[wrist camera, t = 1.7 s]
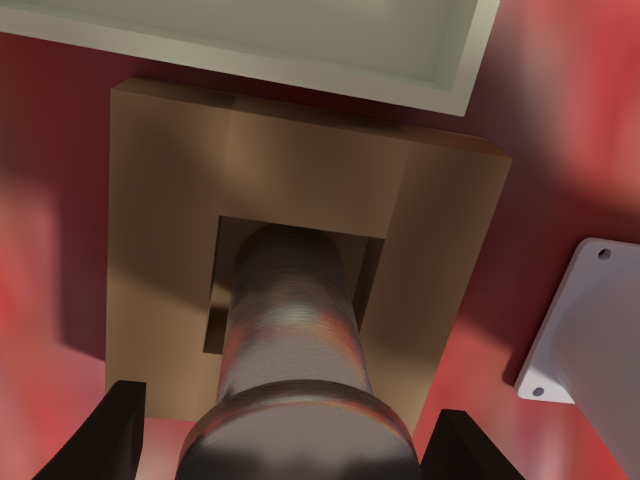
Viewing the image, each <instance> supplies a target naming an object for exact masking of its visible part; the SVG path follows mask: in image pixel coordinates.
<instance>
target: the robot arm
mask: <svg viewBox="0 0 640 480" xmlns="http://www.w3.org/2000/svg"><path fill="white" fill-rule="evenodd" d="M603 249H605V252H604V253H603V254H602V255H600V256H598V254H599V253H600V251H602V250H603ZM146 384H147V382H137V381H126V380H118V381H117V382H115V383H114V384H113V385H112V387H111V388H110V390H109V391H108V393H107V394H106V395H105V397H104V398H103V399H102V401H101V402H100V403H99V405H98V406H97V407H96V408H95V410H94V411H93V412H92V413H91V415H90V416H89V417H88V418H87V419H86V421H85V422H84V423H83V424H82V426H81V427H80V428H79V429H78V430H77V431H76V432H75V434H74V435H73V436H72V437H71V438H70V439H69V440H68V441H67V443H66V444H65V445H64V446H63V447H62V448H61V449H60V451H59V452H58V453H57V454H56V455H55V456H54V457H53V458H52V459H51V460H50V461H49V462H48V463H47V464H46V465H45V466H44V467H43V468H42V469H41V470H40V471H39V472H38V473H37V474H36V476H35V477H34V478H33V479H32V480H135V477H136V473H137V468H138V464H139V460H140V455H141V451H142V447H143V432H144V416H145V400H146ZM536 388H538V389H536ZM535 389H536V390H535ZM514 390H515V392H516V394H517V395H518V396H519V397H520V398H523V399H532V400H542V401H552V402H563V403H573V404H576V405H577V407H578V408H579V409H580V411H581V412H582V414H583V415H584V417H585V418H586V419H587V421H588V422H589V424H590V425H591V426H592V428H593V429H594V431H595V432H596V433H597V435H598V436H599V438H600V439H601V440H602V442H603V443H604V445H605V446H606V448H607V449H608V450H609V452H610V453H611V455H612V456H613V457H614V459H615V460H616V462H617V463H618V464H619V466H620V467H621V469H622V470H623V471H624V473H625V474H626V476H627V477H628V478H629V480H640V245H639V244H632V243H626V242H619V241H613V240H606V239H600V238H587V239H584V240H583V241H582V242H580V243H579V245H578V246H577V248H576V250H575V252H574V255H573V257H572V259H571V261H570V263H569V266H568V268H567V270H566V272H565V274H564V277H563V279H562V281H561V283H560V285H559V288H558V290H557V292H556V294H555V296H554V299H553V301H552V303H551V305H550V307H549V310H548V312H547V314H546V316H545V318H544V321H543V323H542V325H541V327H540V329H539V332H538V334H537V336H536V338H535V340H534V343H533V345H532V347H531V349H530V352H529V354H528V356H527V358H526V360H525V363H524V365H523V367H522V369H521V371H520V374H519V376H518V378H517V380H516V382H515V385H514ZM420 468H421V472H422V475H423V479H424V480H525V479H524V477H523V476H522V475H521V474H520V473H519V472H518V471H517V470H516V469H515V467H514V466H513V465H512V464H511V463H510V462H509V461H508V460H507V458H506V457H505V456H504V455H503V454H502V453H501V452H500V450H499V449H498V448H497V447H496V446H495V445H494V443H493V442H492V441H491V440H490V439H489V438H488V437H487V435H486V434H485V433H484V432H483V431H482V430H481V428H480V427H479V426H478V425H477V424H476V423H475V422H474V421H473V419H472V418H471V417H470V416H469V415H468V414H467V413H466V412H465V411H461V410H450V409H442V410H441V412H440V415H439V418H438V420H437V423H436V425H435V428H434V431H433V433H432V436H431V438H430V441H429V443H428V446H427V449H426V451H425V454H424V456H423V459H422V462H421V464H420Z"/></svg>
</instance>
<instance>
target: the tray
mask: <svg viewBox="0 0 640 480" xmlns="http://www.w3.org/2000/svg"><path fill="white" fill-rule="evenodd" d="M499 3H500V0H0V31H1V32H6V33H12V34H17V35H23V36H28V37H33V38H39V39H44V40H50V41H55V42H60V43H66V44H71V45H77V46H82V47H88V48H93V49H98V50H104V51H109V52H115V53H120V54H126V55H131V56H136V57H142V58H147V59H153V60H158V61H164V62H169V63H174V64H180V65H185V66H191V67H196V68H201V69H207V70H212V71H218V72H223V73H229V74H234V75H239V76H245V77H250V78H256V79H261V80H267V81H272V82H277V83H283V84H288V85H294V86H299V87H304V88H310V89H315V90H321V91H326V92H332V93H337V94H342V95H348V96H353V97H359V98H364V99H370V100H375V101H380V102H386V103H391V104H397V105H402V106H408V107H413V108H418V109H424V110H429V111H435V112H440V113H445V114H451V115H456V116H462V117H464V115H465V112H466V109H467V106H468V103H469V99H470V96H471V93H472V90H473V87H474V83H475V80H476V77H477V74H478V71H479V67H480V64H481V61H482V58H483V54H484V51H485V48H486V45H487V42H488V38H489V35H490V32H491V29H492V26H493V22H494V19H495V16H496V13H497V10H498V6H499Z"/></svg>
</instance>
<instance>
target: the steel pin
mask: <svg viewBox="0 0 640 480" xmlns="http://www.w3.org/2000/svg"><path fill="white" fill-rule="evenodd" d="M175 480H424V479H423V475H422V472H421V468H420V465H419V462H418V458H417V455H416V452H415V448H414V445H413V442H412V438H411V435H410V433H409V431H408V429H407V427H406V425H405V424H404V422H403V421H402V420H401V418H400V417H399V415H398V414H397V413H396V412H395V411H394V410H393V409H392V408H391V407H389V406H388V405H387V404H385V403H384V402H383V401H381V400H380V399H378V398H377V397H375V396H374V395H373V391H372V387H371V383H370V378H369V374H368V370H367V366H366V362H365V357H364V353H363V349H362V345H361V340H360V336H359V332H358V328H357V324H356V319H355V315H354V311H353V307H352V302H351V298H350V294H349V290H348V286H347V281H346V277H345V273H344V269H343V264H342V260H341V256H340V253H339V251H338V248H337V246H336V245H335V243H334V242H333V240H332V239H331V238H330V237H329V236H328V235H327V234H326V233H325V232H323V231H322V230H319V229H312V228H305V227H298V226H291V225H284V224H277V223H271V224H268V225H266V226H263V227H262V228H260V229H258V230H256V231H255V232H254V233H252V234H251V235H250V236H249V237H248V238H247V239H246V240H245V242H244V243H243V244H242V246H241V248H240V249H239V252H238V254H237V257H236V262H235V269H234V276H233V283H232V290H231V297H230V304H229V311H228V318H227V325H226V332H225V339H224V346H223V353H222V360H221V367H220V374H219V381H218V388H217V395H216V402H215V407H213V408H212V409H210V410H209V411H208V412H207V413H206V414H205V415H204V416H203V417H201V418H200V420H199V421H198V422H197V423H196V424H195V425H194V427H193V428H192V429H191V431H190V432H189V434H188V436H187V437H186V439H185V441H184V443H183V446H182V448H181V451H180V456H179V461H178V466H177V471H176V476H175Z"/></svg>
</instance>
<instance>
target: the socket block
mask: <svg viewBox="0 0 640 480" xmlns="http://www.w3.org/2000/svg"><path fill="white" fill-rule="evenodd" d="M512 162H513V158H511V157H510V156H509V155H507V154H506V153H505V152H503V151H502V150H501V149H499V148H498V147H497V146H495V145H494V144H493V143H491V142H490V141H489V140H487V139H486V138H485V137H479V136H473V135H468V134H462V133H457V132H451V131H445V130H440V129H434V128H429V127H423V126H418V125H412V124H406V123H401V122H395V121H390V120H384V119H378V118H373V117H367V116H362V115H356V114H351V113H345V112H339V111H334V110H328V109H323V108H317V107H311V106H306V105H300V104H295V103H289V102H284V101H278V100H272V99H267V98H261V97H256V96H250V95H245V94H239V93H233V92H228V91H222V90H217V89H211V88H205V87H200V86H194V85H189V84H183V83H178V82H172V81H166V80H161V79H155V78H150V77H144V76H138V75H131V76H130V77H128V78H127V79H125V80H124V81H122V82H121V83H119V84H118V85H116V86H115V87H113V88H111V96H110V149H109V202H108V256H107V309H106V362H105V395H106V394H107V393H108V391H109V390H110V388H111V387H112V385H113V384H114V383H115V382H117V381H118V380H126V381H137V382H147V384H146V400H145V416H144V417H147V418H160V419H172V420H184V421H196V422H198V421H199V420H200V418H201V417H203V416H204V415H205V414H206V413H207V412H208V411H209V410H210V409H212V408H213V407H215V402H216V395H217V388H218V381H219V374H220V367H221V360H222V353H223V346H224V339H225V332H226V325H227V318H228V311H229V304H230V297H231V290H232V283H233V276H234V269H235V262H236V257H237V254H238V252H239V249H240V248H241V246H242V244H243V243H244V242H245V240H246V239H247V238H248V237H249V236H250V235H251V234H252V233H254V232H255V231H256V230H258V229H260V228H262V227H263V226H266V225H268V224H271V223H277V224H284V225H291V226H298V227H305V228H312V229H319V230H322V231H323V232H325V233H326V234H327V235H328V236H329V237H330V238H331V239H332V240H333V242H334V243H335V245H336V246H337V248H338V251H339V253H340V256H341V260H342V264H343V269H344V273H345V277H346V281H347V286H348V290H349V294H350V298H351V302H352V307H353V311H354V315H355V319H356V324H357V328H358V332H359V336H360V340H361V345H362V349H363V353H364V357H365V362H366V366H367V370H368V374H369V378H370V383H371V387H372V391H373V395H374V396H375V397H377V398H378V399H380V400H381V401H383V402H384V403H385V404H387V405H388V406H389V407H391V408H392V409H393V410H394V411H395V412H396V413H397V414H398V415H399V417H400V418H401V420H402V421H403V422H404V424H405V425H406V427H407V429H408V431H409V433H410V435H411V438H412V436H413V433H414V430H415V428H416V425H417V422H418V420H419V417H420V414H421V411H422V409H423V406H424V403H425V400H426V398H427V395H428V392H429V389H430V387H431V384H432V381H433V378H434V376H435V373H436V370H437V367H438V365H439V362H440V359H441V357H442V354H443V351H444V348H445V346H446V343H447V340H448V337H449V335H450V332H451V329H452V326H453V324H454V321H455V318H456V315H457V313H458V310H459V307H460V305H461V302H462V299H463V296H464V294H465V291H466V288H467V285H468V283H469V280H470V277H471V274H472V272H473V269H474V266H475V263H476V261H477V258H478V255H479V252H480V250H481V247H482V244H483V242H484V239H485V236H486V233H487V231H488V228H489V225H490V222H491V220H492V217H493V214H494V211H495V209H496V206H497V203H498V200H499V198H500V195H501V192H502V190H503V187H504V184H505V181H506V179H507V176H508V173H509V170H510V168H511V165H512Z"/></svg>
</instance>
